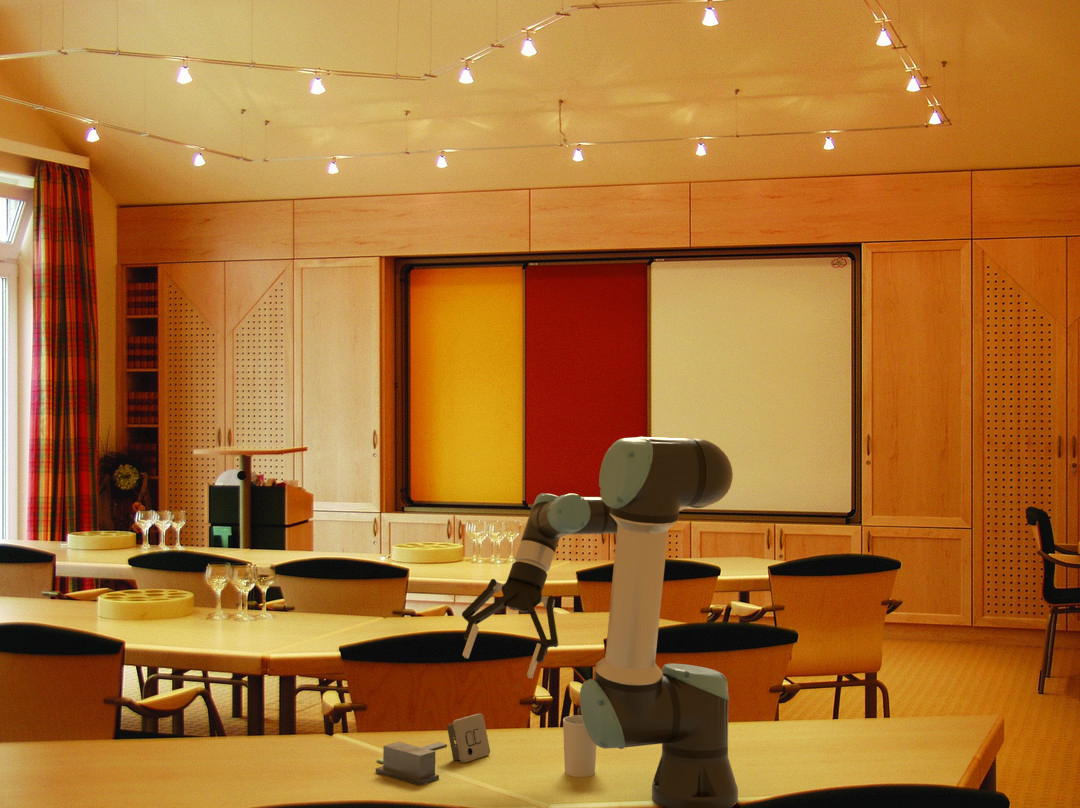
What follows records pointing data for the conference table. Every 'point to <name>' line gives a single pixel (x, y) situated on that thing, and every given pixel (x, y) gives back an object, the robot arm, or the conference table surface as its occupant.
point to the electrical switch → (468, 738)
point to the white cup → (578, 748)
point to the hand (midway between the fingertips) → (497, 667)
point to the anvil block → (408, 763)
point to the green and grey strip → (430, 747)
